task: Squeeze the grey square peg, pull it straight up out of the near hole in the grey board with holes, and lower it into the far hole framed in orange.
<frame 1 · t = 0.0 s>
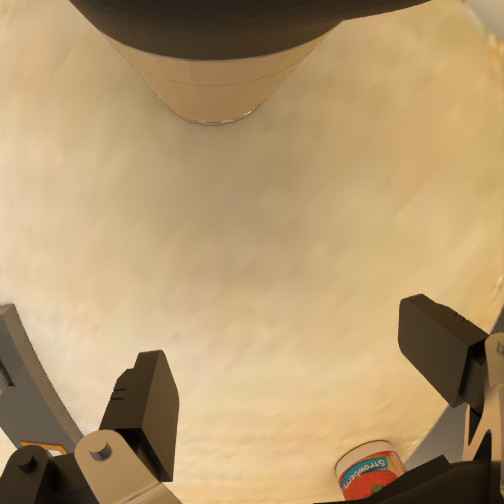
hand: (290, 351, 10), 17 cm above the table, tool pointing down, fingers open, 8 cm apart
grey square peg: (0, 355, 27), resting in grey board with holes
grey board with holes: (30, 407, 29), on the table
fruit juice: (363, 458, 38), on the table
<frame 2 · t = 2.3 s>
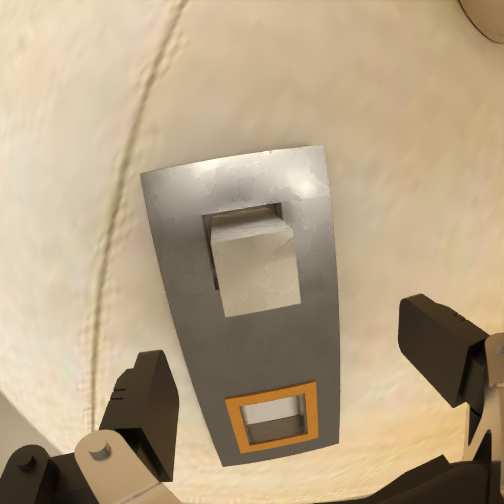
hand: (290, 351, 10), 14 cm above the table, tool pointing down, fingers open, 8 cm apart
grey square peg: (244, 238, 24), resting in grey board with holes
grey board with holes: (259, 333, 26), on the table
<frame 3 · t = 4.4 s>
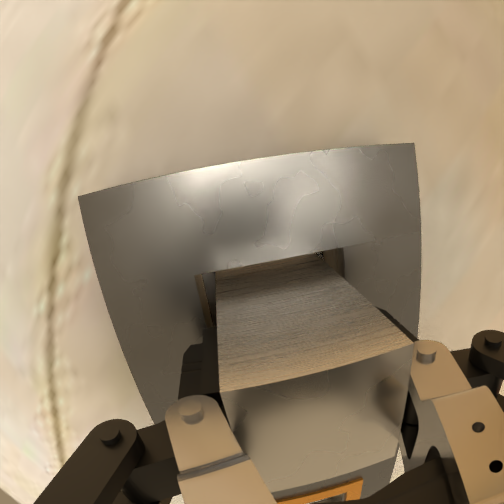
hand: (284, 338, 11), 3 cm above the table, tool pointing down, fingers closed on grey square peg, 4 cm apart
grey square peg: (269, 300, 14), resting in grey board with holes, touching gripper
grey board with holes: (288, 426, 16), on the table
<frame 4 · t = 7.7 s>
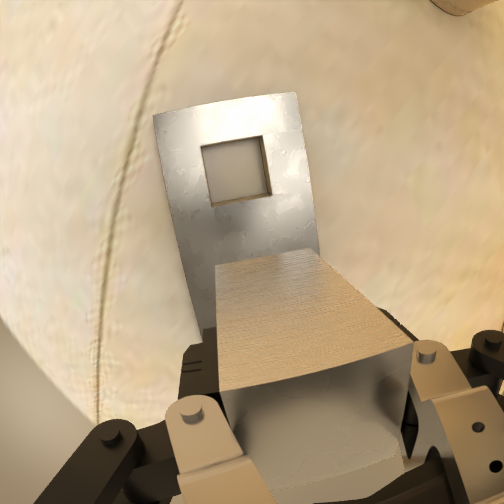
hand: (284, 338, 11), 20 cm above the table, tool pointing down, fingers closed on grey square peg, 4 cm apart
grey square peg: (269, 300, 14), point 16 cm above the table, touching gripper
grey board with holes: (250, 254, 31), on the table
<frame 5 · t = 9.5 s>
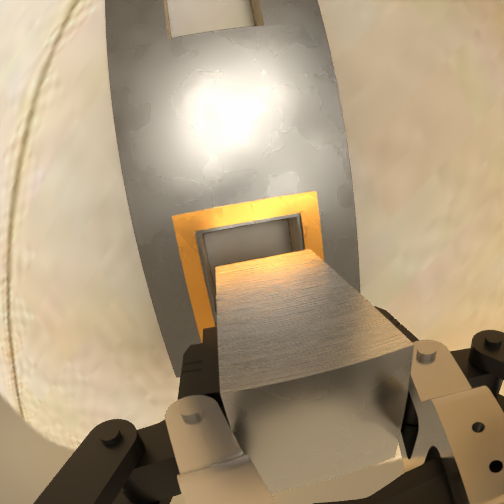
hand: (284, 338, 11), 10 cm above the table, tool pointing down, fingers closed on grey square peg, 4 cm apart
grey square peg: (270, 301, 14), point 6 cm above the table, touching gripper
grey board with holes: (229, 128, 18), on the table
when the fingers open (4 cm above the table, at t = 11.1 s): grey square peg stays where it is, resting in grey board with holes.
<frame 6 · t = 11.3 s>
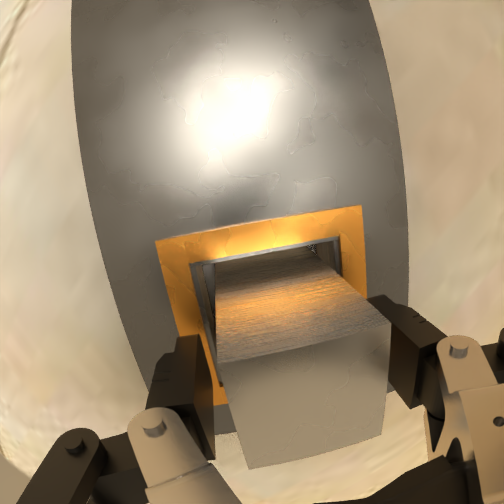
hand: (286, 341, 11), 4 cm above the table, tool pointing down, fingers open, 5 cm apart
grey square peg: (266, 292, 15), resting in grey board with holes
grey board with holes: (236, 115, 13), on the table
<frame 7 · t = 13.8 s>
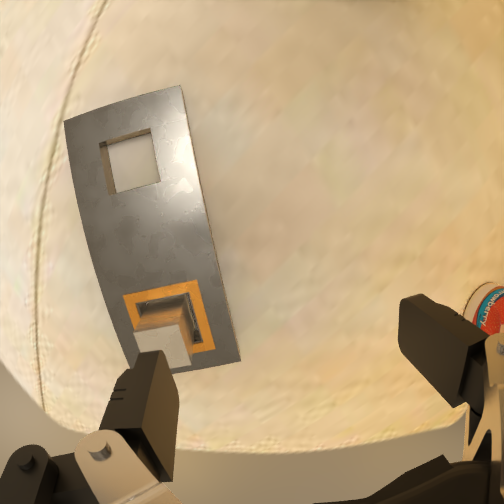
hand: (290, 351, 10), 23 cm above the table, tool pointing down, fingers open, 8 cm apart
grey square peg: (172, 312, 33), resting in grey board with holes
grey board with holes: (152, 240, 31), on the table
fruit juice: (481, 310, 39), on the table
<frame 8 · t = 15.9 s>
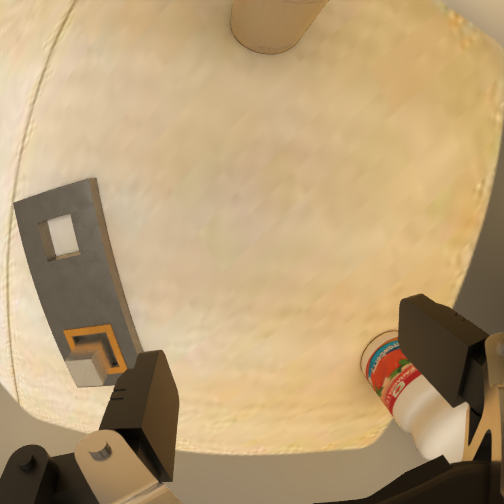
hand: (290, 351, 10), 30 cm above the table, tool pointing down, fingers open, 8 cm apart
grey square peg: (101, 342, 41), resting in grey board with holes
grey board with holes: (82, 291, 39), on the table
fruit juice: (384, 354, 47), on the table
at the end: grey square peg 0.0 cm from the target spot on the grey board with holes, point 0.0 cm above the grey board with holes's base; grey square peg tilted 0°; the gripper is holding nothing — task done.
